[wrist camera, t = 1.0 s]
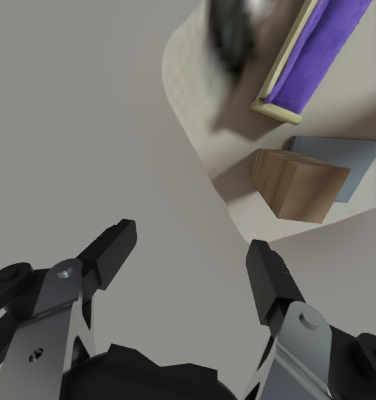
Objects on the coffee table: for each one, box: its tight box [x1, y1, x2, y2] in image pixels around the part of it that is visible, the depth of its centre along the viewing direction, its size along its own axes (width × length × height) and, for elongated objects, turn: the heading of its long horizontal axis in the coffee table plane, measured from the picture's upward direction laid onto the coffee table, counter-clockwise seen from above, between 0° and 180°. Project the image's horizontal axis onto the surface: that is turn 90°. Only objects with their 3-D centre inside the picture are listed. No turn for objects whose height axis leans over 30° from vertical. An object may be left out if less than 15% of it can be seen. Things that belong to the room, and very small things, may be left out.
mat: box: [288, 136, 376, 202], centre depth 33 cm, size 17×14×2 cm
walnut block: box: [251, 148, 352, 224], centre depth 28 cm, size 6×8×18 cm
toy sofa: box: [250, 0, 372, 125], centre depth 22 cm, size 21×9×10 cm, turn 159°
